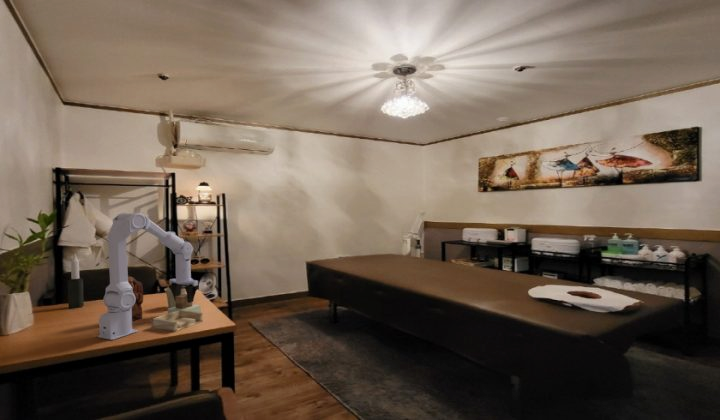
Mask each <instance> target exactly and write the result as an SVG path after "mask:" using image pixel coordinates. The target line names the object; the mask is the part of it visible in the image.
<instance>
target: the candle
mask: <svg viewBox="0 0 720 420" xmlns="http://www.w3.org/2000/svg"><path fill="white" fill-rule="evenodd" d="M70 269H71V270H70V271H71V277H70V278H69V279H68V281H67V300H68V309H69V310H71V309H72V310H73V309H80V308H83V307H84V305H85V304H84V303H85V300H84V298H85V297H84V279H83V277H80V261H79V259H78V257H77V254H76V253H74V254H73V257H72V260H70Z"/></svg>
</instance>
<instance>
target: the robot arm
mask: <svg viewBox="0 0 720 420" xmlns="http://www.w3.org/2000/svg"><path fill="white" fill-rule="evenodd" d="M140 230H144V231H146V232H147V233H149V234H151V235H153V236H154V237H157V238H158V239H159V242H160V243H161V245H163V246H165V247H166V248H169V250H171V251H172V253H173V254H174V255H175V256H174V257H175V278H170V279H169V284H170V285H168V288H170V290H171V291H172V293H173V296H174V299H175V301H176V298H175V296H179V295H181V288H182V286H186V287H185V290H186V292H185V294H187V300H188V303H191V302H192V303H194V299H195V296H196V292H197V291H198V288H199V280H196V279H193V278H192V273H191V272H192V271H191V269H192V268H191V265H192V264H191V258H192V253H193V252H194V247H193V245H192V243H191V242H189V241H184V238H183V237H180V236H177V234H176V232H175V231H165V230H164V229H162V228H161V227H160V226H158V224H156V223H155V222H153V221H152V220H151V219H150V218H149V217H148V216H146V215H144V214H143V213H141V212H131V213H129V212H128V213H127V212H121V213H119V214H117V215H116V216H115V217H114V218H113V219H112V225H111V227H110V229H109V231H108V233H107V246H108V248H107V250H108V267H109V271H108V272H109V284H108V285H107V286H106V287H105V292H104V293H105V294H104V296H103V301H102V302H103V304H104V306H105V307H107V312H105V313H103V314H101V315H100V316H99V319H98V325H99V327H98V330H99V331H98V332H99V333H98V334H99V335H98V337H97V338H99V339H106V340H110V341H113V340H117V339H119V338H123V337H125V336H128V335H132V334H134V333H137V332H138V329H134V328H133V321H132V306H133V305H134V304H135V301H136V297H135V295H134V293H133V288H132V286H131V285H130V284H129V282H128V276H129V274H128V273H129V272H128V271H129V270H128V255H127V254H128V253H127V252H128V251H127V239H128V238H130V236H131V235H132V234H134V233H137V232H139V231H140Z"/></svg>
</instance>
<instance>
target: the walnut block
mask: <svg viewBox="0 0 720 420" xmlns="http://www.w3.org/2000/svg"><path fill="white" fill-rule="evenodd" d="M175 298H176V308H178V309H185V308H188V307H191V306H192V304H193V302H191V303H188V300H187V293H185V294H183V295H179V296H175Z"/></svg>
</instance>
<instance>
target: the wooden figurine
mask: <svg viewBox="0 0 720 420" xmlns="http://www.w3.org/2000/svg"><path fill="white" fill-rule="evenodd" d="M128 282H129V284H130V285H131V286H132V288H133V293H134V295H135V297H136V301H135V304H134V305H133V306H132V322H133V321H136V320H138V319H139V320H140V319H143V307H142V305H143V303H144V288H143V287H144V286H143V283H142V282H141V281H138V280H137V279H135V277H132V276H131V275H130V276H129V275H128Z"/></svg>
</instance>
